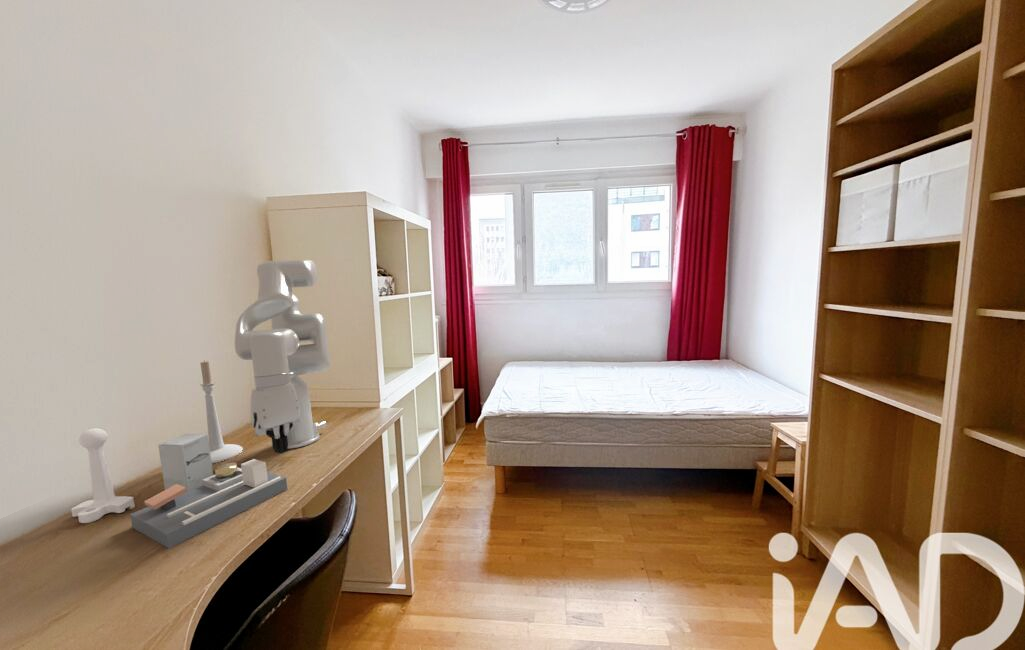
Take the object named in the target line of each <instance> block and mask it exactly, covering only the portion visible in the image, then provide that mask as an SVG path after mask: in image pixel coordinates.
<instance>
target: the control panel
mask: <svg viewBox="0 0 1025 650" xmlns="http://www.w3.org/2000/svg"><path fill="white" fill-rule="evenodd" d="M237 469H238V472H237V474H235V475H233V476H231V477H228V478H224V479H217V478H216V474H215V473H214V474H213V476H210V477H208V478H205V479H203V480H202V481H203V484H202V485H200V486H198V487H195V488H193V489H190V490H188V491H187V492H186V493H184V494H182V495H180V496H179V497H177V498H175V499H173V500H171V501H170V502H168V503H166V504H164V505H163V506H161V507H159V508H157V509H155V510H154V509H152V508H150V507H148V506H146V507H145V508H142V509H140V510H136V511H135V512H132V513H129V516H130V522H131V527H132V529H134V530H136V531H138V532H140V533H141V534H142V535H144V536H147V537H148V538H150V539H152V540H153V541H155V542H157V543H159V545H162V546H164V547H165V548H167V549H171V548H173V547H175V546H178V545H179V544H181V543H183V542H185V541H187V540H189V539H191V538H193V537H195V536H197V535H199V534H201V533H204V532H205V531H207V530H209V529H211V528H213V527H215V526H217V525H219V524H220V523H223V522H224V521H227V520H229V519H230V518H233V517H236V516H237V515H239V514H241V513H243V512H245V511H246V510H249V509H251V508H252V507H255V506H257V505H260V504H261V503H263V502H266V501H267V500H268V499H270V498H271V499H272V498H273V497H276V494H277V495H279V494H281V493H283V492H284V490H285V491H287V490H288V482H287V477H284V476H282V475H279V474H275V473H272V472H269V471H267V477H268V482H266V483H264V484H262V485H260V486H258V487H255V488H254V487H251V486H248V485H245V484H243V477H242V469H241V467H238V466H237ZM286 489H287V490H286ZM282 491H283V492H282ZM280 492H281V493H280ZM278 493H279V494H278ZM272 496H273V497H272Z"/></svg>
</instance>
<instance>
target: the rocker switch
mask: <svg viewBox="0 0 1025 650" xmlns="http://www.w3.org/2000/svg"><path fill="white" fill-rule="evenodd" d="M186 492H187V489H186V488H185V487H183V486H181V485H178V484H175V485H174V486H172V487H170V488H168V489H166V490H165V489H164V490H162V491H160V492H159V493H156V495H154V496H152V497H150V498H147V499H146V500H144V505H145V506H146V507H150V508H152V509H154V510H155V509H157V508H159V507H161V506H163V505H164V504H166V503H168V502H170V501H171V500H173V499H175V498H177V497H179V496H180V495H182V494H184V493H186Z"/></svg>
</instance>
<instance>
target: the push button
mask: <svg viewBox="0 0 1025 650" xmlns="http://www.w3.org/2000/svg"><path fill="white" fill-rule="evenodd" d="M237 467H238V464H237V462H229V463H224V464H221V465H219V466H217V467H215V468H214V472H215V473H214V475H215V474H216V478H217V479H224V478H228V477H231V476H233V475H235V474H237V472H238V469H237Z"/></svg>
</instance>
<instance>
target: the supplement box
mask: <svg viewBox="0 0 1025 650" xmlns="http://www.w3.org/2000/svg"><path fill="white" fill-rule="evenodd" d="M158 450H159V452H158V453H159V459H160V465H161V472H162V473H161V474H162V478H163V487H164V490H166V489H168V488H170V487H172V486H174V485H175V484H178V485H181V486H183V487H185V488H186V489H187V491H188V490H190V489H193V488H195V487H198V486H200V485H203V481H202V480H203V479H205V478H208V477H210V476H213V475H214V469H213V464H212V463H211V455H210V448H209V438H208V433H185V434H182V435H180V436H178V437H175V438H172V439H170V440H167V441H165V442H162V443H159V444H158Z"/></svg>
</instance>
